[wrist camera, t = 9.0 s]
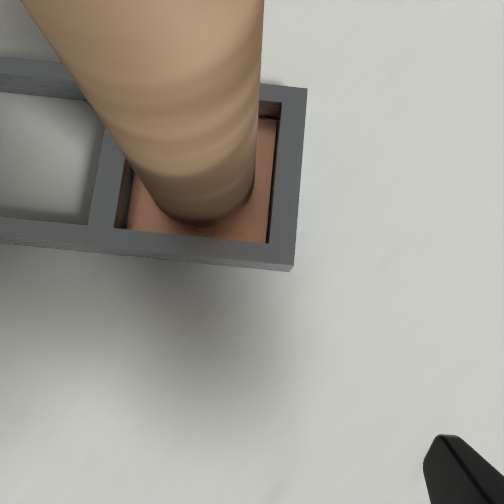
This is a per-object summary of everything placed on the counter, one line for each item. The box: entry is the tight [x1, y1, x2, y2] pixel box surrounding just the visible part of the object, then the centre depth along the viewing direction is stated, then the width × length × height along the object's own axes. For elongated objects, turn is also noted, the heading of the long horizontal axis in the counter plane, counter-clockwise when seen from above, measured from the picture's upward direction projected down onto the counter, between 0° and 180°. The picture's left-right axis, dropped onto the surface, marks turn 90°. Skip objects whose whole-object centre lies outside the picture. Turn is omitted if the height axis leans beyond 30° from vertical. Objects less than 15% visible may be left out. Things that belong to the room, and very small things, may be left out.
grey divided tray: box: [0, 57, 307, 272], centre depth 18 cm, size 8×15×2 cm, turn 84°
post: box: [21, 0, 264, 228], centre depth 13 cm, size 4×4×12 cm
